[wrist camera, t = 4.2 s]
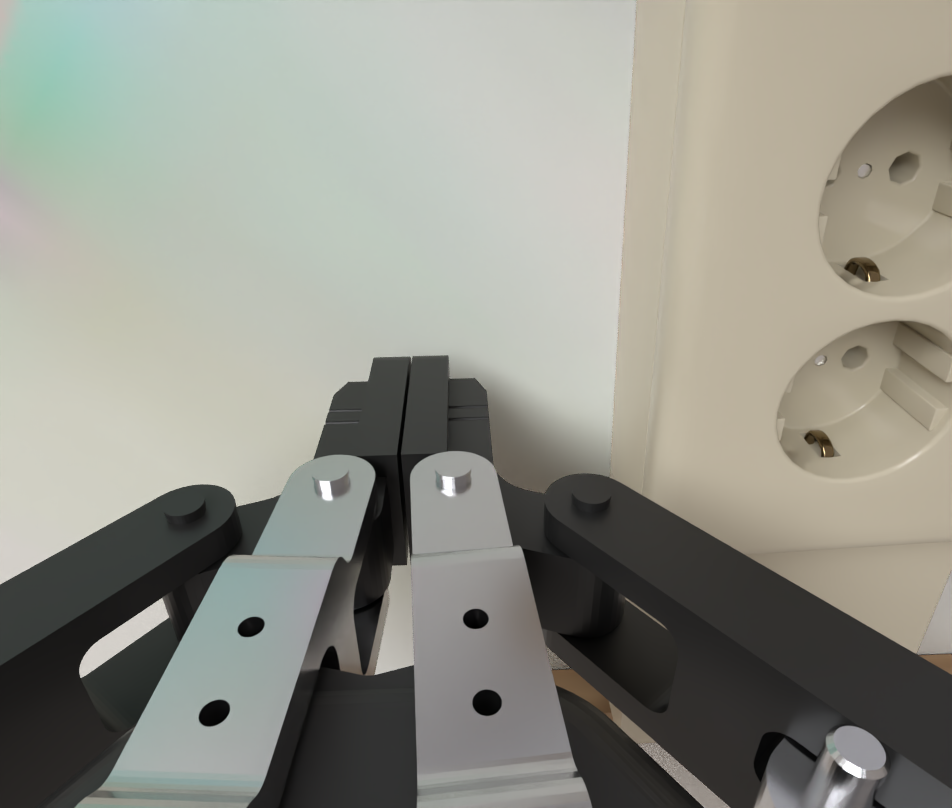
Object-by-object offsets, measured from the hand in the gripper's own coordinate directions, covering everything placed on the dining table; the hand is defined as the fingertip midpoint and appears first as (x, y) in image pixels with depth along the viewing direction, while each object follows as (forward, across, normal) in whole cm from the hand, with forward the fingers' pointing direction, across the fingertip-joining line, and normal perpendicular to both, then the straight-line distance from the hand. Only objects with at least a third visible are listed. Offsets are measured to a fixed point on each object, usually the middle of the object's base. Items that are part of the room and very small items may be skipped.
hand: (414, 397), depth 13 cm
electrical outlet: (+2, -8, +1) cm, 8 cm away
